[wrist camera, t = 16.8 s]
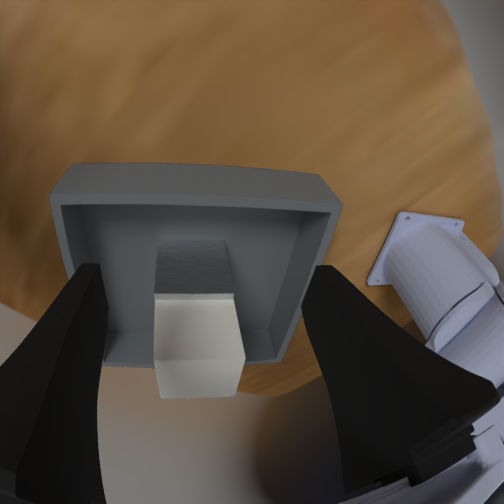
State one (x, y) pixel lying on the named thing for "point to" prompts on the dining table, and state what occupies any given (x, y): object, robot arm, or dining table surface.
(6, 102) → the dining table surface
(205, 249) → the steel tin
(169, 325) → the white cube
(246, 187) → the tote
